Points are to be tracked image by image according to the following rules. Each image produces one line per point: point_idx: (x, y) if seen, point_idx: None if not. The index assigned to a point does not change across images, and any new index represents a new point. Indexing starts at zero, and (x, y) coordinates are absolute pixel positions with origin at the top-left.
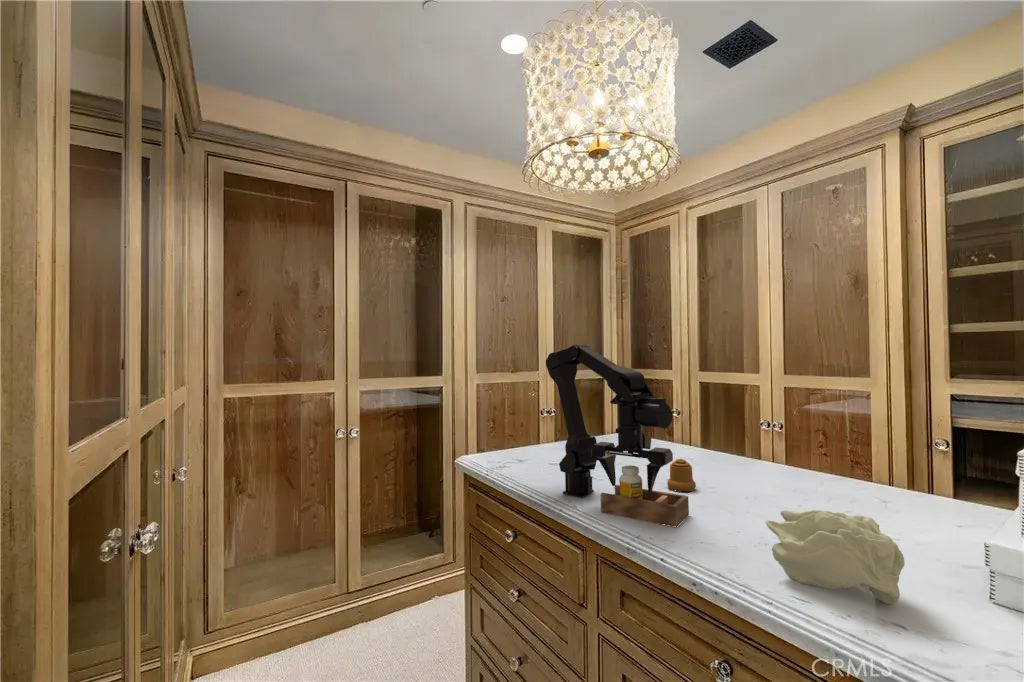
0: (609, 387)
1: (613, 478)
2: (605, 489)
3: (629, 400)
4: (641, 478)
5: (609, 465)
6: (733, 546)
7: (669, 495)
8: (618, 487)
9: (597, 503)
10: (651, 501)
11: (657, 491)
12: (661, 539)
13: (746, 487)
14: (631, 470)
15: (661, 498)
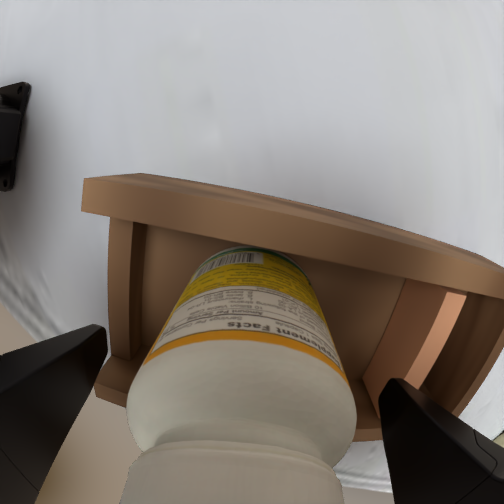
0: None
1: (79, 386)
2: (70, 19)
3: None
4: (354, 431)
5: (25, 486)
6: (486, 406)
7: (476, 289)
8: (112, 212)
9: (71, 231)
10: (372, 433)
11: (431, 260)
12: (362, 452)
13: None
14: None
15: (430, 352)
